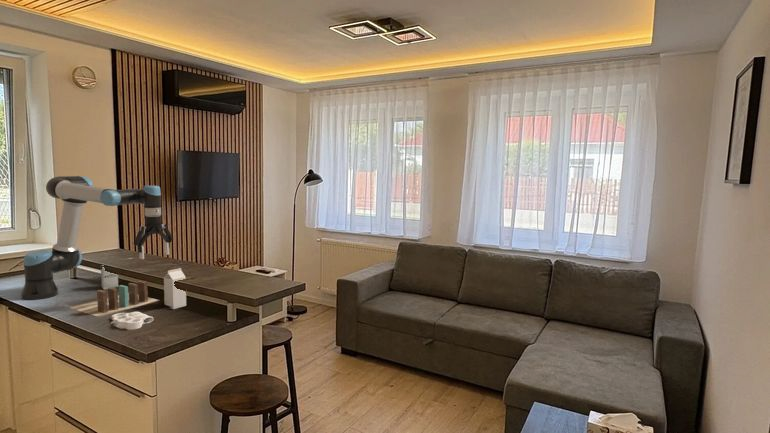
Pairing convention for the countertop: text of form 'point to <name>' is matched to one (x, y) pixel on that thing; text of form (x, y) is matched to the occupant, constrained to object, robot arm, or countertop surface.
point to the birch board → (93, 307)
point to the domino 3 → (123, 296)
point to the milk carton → (174, 289)
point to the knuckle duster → (130, 320)
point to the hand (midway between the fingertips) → (154, 256)
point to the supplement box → (108, 279)
